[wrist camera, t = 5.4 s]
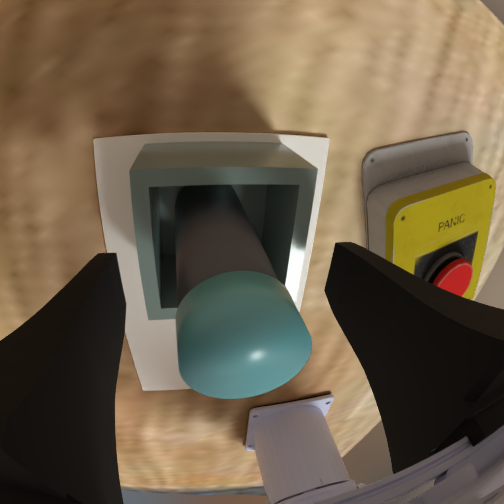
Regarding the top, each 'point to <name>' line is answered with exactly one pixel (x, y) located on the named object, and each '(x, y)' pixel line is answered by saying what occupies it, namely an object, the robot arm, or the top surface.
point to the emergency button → (429, 210)
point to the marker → (231, 301)
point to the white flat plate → (124, 244)
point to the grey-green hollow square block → (248, 191)
